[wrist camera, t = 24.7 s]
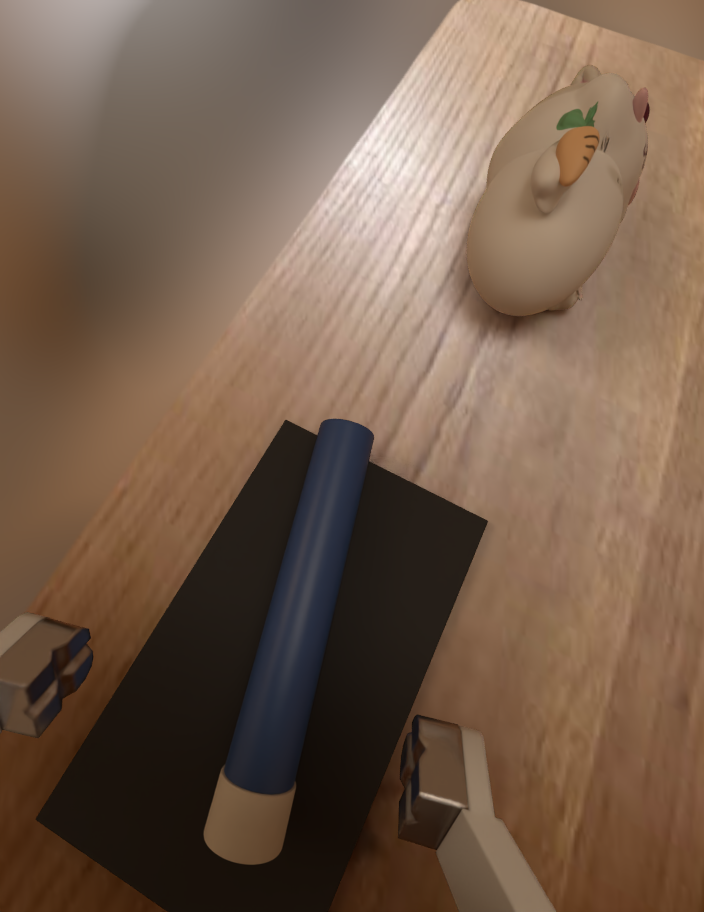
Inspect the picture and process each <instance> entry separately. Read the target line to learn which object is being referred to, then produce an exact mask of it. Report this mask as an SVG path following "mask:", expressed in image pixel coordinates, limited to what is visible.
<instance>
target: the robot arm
mask: <svg viewBox="0 0 704 912" xmlns="http://www.w3.org/2000/svg"><path fill="white" fill-rule="evenodd" d="M90 638H91V637H90V632H89V629H88V628H84V627H80V626H76V625H73V624H69V623H65V622H62V621H58V620H54V619H51V618H48V617H44V616H40V615H36V614H32V613H29V612H26V613H24V614H22V615H20V616H18V617H17V618H16V619H14V620H13V621H12V622H11V623H10V624H9V625H8V626H7V627H5V628H4V629H3V630H2V631H1V632H0V733H1V732H2V730H6V731H10V732H14V733H18V734H22V735H26V736H30V737H35V738H39V737H40V736H41V734H42V733H43V732H44V731H45V729H46V728H47V727H48V726H49V724H50V723H51V722H52V721H53V719H54V718H55V717H56V716H57V714H58V713H59V712H60V711H61V709H62V700H63V698H65V697H66V696H68V695H70V694H72V693H74V692H75V691H77V689H78V688H79V687H80V685H81V684H82V683H83V681H84V680H85V679H86V677H87V675H88V673H89V671H90V669H91V667H92V662H93V651H92V649H91V648H90V647H89V646H88V645H87V644H86V643H87V642H88V641H89V640H90ZM400 780H401V782H402V784H403V786H404V788H405V790H404V792H403V794H402V796H401V799H400V801H399V825H398V838H399V839H402V840H405V841H409V842H412V843H415V844H418V845H422V846H425V847H428V848H431V849H434V850H437V851H436V855H437V857H438V860H439V862H440V865H441V867H442V870H443V872H444V875H445V877H446V880H447V883H448V885H449V888H450V890H451V893H452V895H453V898H454V900H455V903H456V905H457V908H458V911H459V912H556V910H555V909H554V907H553V905H552V903H551V902H550V900H549V898H548V897H547V895H546V893H545V892H544V890H543V888H542V887H541V885H540V883H539V881H538V880H537V878H536V876H535V875H534V873H533V871H532V870H531V868H530V866H529V865H528V863H527V861H526V859H525V858H524V856H523V854H522V853H521V851H520V849H519V848H518V846H517V844H516V843H515V841H514V839H513V837H512V836H511V834H510V832H509V831H508V829H507V827H506V826H505V824H504V822H503V821H502V819H499V818H496V817H495V813H494V807H493V800H492V793H491V786H490V779H489V772H488V765H487V759H486V752H485V745H484V738H483V736H482V734H481V732H480V731H479V730H476V729H472V728H468V727H464V726H459V725H458V724H454V723H450V722H446V721H441V720H437V719H433V718H429V717H425V716H421V715H416V716H415V717H414V719H413V722H412V732H411V733H408V734H407V736H406V739H405V741H404V745H403V750H402V755H401V765H400Z"/></svg>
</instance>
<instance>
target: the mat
mask: <svg viewBox="0 0 704 912" xmlns="http://www.w3.org/2000/svg"><path fill="white" fill-rule="evenodd" d="M316 439H317V435H315V434H313V433H311V432H309V431H307V430H305V429H303V428H301V427H299V426H297V425H295V424H293V423H291V422H289V421H287V420H285V422H284V423H283V425H282V426H281V428H280V430H279V431H278V433H277V434H276V436H275V438H274V439H273V441H272V442H271V444H270V446H269V447H268V449H267V450H266V452H265V453H264V455H263V457H262V458H261V460H260V461H259V463H258V465H257V466H256V468H255V469H254V471H253V473H252V474H251V476H250V477H249V479H248V481H247V482H246V484H245V485H244V487H243V489H242V490H241V492H240V493H239V495H238V497H237V498H236V500H235V501H234V503H233V505H232V506H231V508H230V509H229V511H228V513H227V514H226V516H225V517H224V519H223V521H222V522H221V524H220V525H219V527H218V529H217V530H216V532H215V533H214V535H213V537H212V538H211V540H210V541H209V543H208V545H207V546H206V548H205V549H204V551H203V552H202V554H201V556H200V557H199V559H198V560H197V562H196V564H195V565H194V567H193V568H192V570H191V572H190V573H189V575H188V576H187V578H186V580H185V581H184V583H183V584H182V586H181V588H180V589H179V591H178V592H177V594H176V596H175V597H174V599H173V600H172V602H171V604H170V605H169V607H168V608H167V610H166V612H165V613H164V615H163V616H162V618H161V620H160V621H159V623H158V624H157V626H156V628H155V629H154V631H153V632H152V634H151V636H150V637H149V639H148V640H147V642H146V644H145V645H144V647H143V648H142V650H141V651H140V653H139V655H138V656H137V658H136V659H135V661H134V663H133V664H132V666H131V667H130V669H129V671H128V672H127V674H126V675H125V677H124V679H123V680H122V682H121V683H120V685H119V687H118V688H117V690H116V691H115V693H114V695H113V696H112V698H111V699H110V701H109V703H108V704H107V706H106V707H105V709H104V711H103V712H102V714H101V715H100V717H99V719H98V720H97V722H96V723H95V725H94V727H93V728H92V730H91V731H90V733H89V735H88V736H87V738H86V739H85V741H84V743H83V744H82V746H81V747H80V749H79V751H78V752H77V754H76V755H75V757H74V758H73V760H72V762H71V763H70V765H69V766H68V768H67V770H66V771H65V773H64V774H63V776H62V778H61V779H60V781H59V782H58V784H57V786H56V787H55V789H54V790H53V792H52V794H51V795H50V797H49V798H48V800H47V802H46V803H45V805H44V806H43V808H42V810H41V811H40V813H39V814H38V816H37V818H36V820H37V821H38V822H40V823H41V824H43V825H44V826H45V827H47V828H48V829H50V830H51V831H53V832H54V833H55V834H57V835H58V836H60V837H61V838H63V839H64V840H66V841H67V842H68V843H70V844H71V845H73V846H74V847H76V848H77V849H78V850H80V851H81V852H83V853H84V854H86V855H87V856H89V857H90V858H91V859H93V860H94V861H96V862H97V863H99V864H100V865H101V866H103V867H104V868H106V869H107V870H109V871H110V872H112V873H113V874H114V875H116V876H117V877H119V878H120V879H122V880H123V881H124V882H126V883H127V884H129V885H130V886H132V887H133V888H135V889H136V890H137V891H139V892H140V893H142V894H143V895H145V896H146V897H147V898H149V899H150V900H152V901H153V902H155V903H156V904H157V905H159V906H160V907H162V908H163V909H165V910H166V911H168V912H328V910H329V908H330V905H331V903H332V901H333V898H334V896H335V893H336V891H337V888H338V886H339V883H340V881H341V879H342V876H343V874H344V871H345V869H346V866H347V864H348V862H349V859H350V857H351V854H352V852H353V849H354V847H355V844H356V842H357V840H358V837H359V835H360V832H361V830H362V827H363V825H364V823H365V820H366V818H367V815H368V813H369V810H370V808H371V805H372V803H373V801H374V798H375V796H376V793H377V791H378V788H379V786H380V784H381V781H382V779H383V776H384V774H385V771H386V769H387V766H388V764H389V762H390V759H391V757H392V754H393V752H394V749H395V747H396V744H397V742H398V740H399V737H400V735H401V732H402V730H403V727H404V725H405V723H406V720H407V718H408V715H409V713H410V710H411V708H412V705H413V703H414V701H415V698H416V696H417V693H418V691H419V688H420V686H421V684H422V681H423V679H424V676H425V674H426V671H427V669H428V666H429V664H430V662H431V659H432V657H433V654H434V652H435V649H436V647H437V644H438V642H439V640H440V637H441V635H442V632H443V630H444V627H445V625H446V623H447V620H448V618H449V615H450V613H451V610H452V608H453V605H454V603H455V601H456V598H457V596H458V593H459V591H460V588H461V586H462V584H463V581H464V579H465V576H466V574H467V571H468V569H469V566H470V564H471V562H472V559H473V557H474V554H475V552H476V549H477V547H478V545H479V542H480V540H481V537H482V535H483V532H484V530H485V527H486V525H487V523H488V521H487V520H485V519H483V518H481V517H479V516H477V515H475V514H473V513H471V512H469V511H467V510H465V509H463V508H461V507H459V506H457V505H455V504H453V503H451V502H449V501H447V500H445V499H443V498H441V497H439V496H437V495H435V494H433V493H431V492H429V491H427V490H425V489H423V488H421V487H419V486H417V485H415V484H413V483H411V482H409V481H407V480H405V479H403V478H401V477H399V476H397V475H395V474H393V473H391V472H389V471H387V470H385V469H383V468H381V467H379V466H377V465H375V464H373V463H371V462H368V466H367V470H366V475H365V479H364V483H363V488H362V492H361V497H360V501H359V505H358V510H357V514H356V518H355V523H354V527H353V531H352V536H351V540H350V544H349V549H348V553H347V557H346V562H345V566H344V570H343V575H342V579H341V583H340V588H339V592H338V596H337V601H336V605H335V609H334V614H333V618H332V622H331V627H330V631H329V635H328V640H327V644H326V648H325V653H324V657H323V661H322V666H321V670H320V674H319V679H318V683H317V687H316V692H315V696H314V700H313V705H312V709H311V713H310V718H309V722H308V726H307V731H306V735H305V739H304V744H303V748H302V752H301V757H300V761H299V765H298V770H297V774H296V778H295V782H296V790H295V794H294V799H293V803H292V807H291V812H290V816H289V821H288V825H287V829H286V834H285V838H284V842H283V847H282V850H281V852H280V853H279V855H278V856H277V857H276V858H274V859H273V860H271V861H269V862H266V863H262V864H255V865H248V864H240V863H235V862H232V861H229V860H226V859H224V858H222V857H220V856H219V855H217V854H216V853H214V852H213V851H212V850H211V849H210V848H209V847H208V846H207V844H206V842H205V840H204V829H205V825H206V822H207V818H208V814H209V811H210V807H211V804H212V800H213V797H214V793H215V790H216V786H217V783H218V779H219V775H220V772H221V769H222V767H223V766H224V765H225V764H226V760H227V757H228V753H229V749H230V746H231V742H232V739H233V735H234V732H235V728H236V724H237V721H238V717H239V714H240V710H241V707H242V703H243V699H244V696H245V692H246V689H247V685H248V682H249V678H250V674H251V671H252V667H253V664H254V660H255V657H256V653H257V649H258V646H259V642H260V639H261V635H262V632H263V628H264V624H265V621H266V617H267V614H268V610H269V607H270V603H271V600H272V596H273V592H274V589H275V585H276V582H277V578H278V575H279V571H280V567H281V564H282V560H283V557H284V553H285V550H286V546H287V542H288V539H289V535H290V532H291V528H292V525H293V521H294V517H295V514H296V510H297V507H298V503H299V500H300V496H301V492H302V489H303V485H304V482H305V478H306V475H307V471H308V467H309V464H310V460H311V457H312V453H313V450H314V446H315V442H316Z"/></svg>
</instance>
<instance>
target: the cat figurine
mask: <svg viewBox="0 0 704 912" xmlns="http://www.w3.org/2000/svg"><path fill="white" fill-rule="evenodd" d="M648 116H649V104H648V90H647V89H646V88H642V89H640V90H639V91H638V92H637V94H636V96H634V95H633V93H632V92H631V91H630V88H629V86H628V84H627V83H626V81H625V80H624V79H623V78H622V77H621V76H620V75H618V74H615V73H606V74H602V75H601V73H600V71H599V70H598V68H596V67H595V66H593V65H587V66H585V67H583V68H582V69H581V70H580V71H579V72H578V74H577V75H576V77H575V78H574V80H573V81H572V83H571V85H570V86H568V87H565V88H563V89H560V90H558V91H556V92H555V93H553V94H551V95H550V96H548V97H546V98H545V99H544V100H542V101H541V102H539V103H538V104H537V105H536V106H534V107H533V108H532V109H531V110H530V111H528V112H527V113H526V114H525V115H524V116H523V117H522V118H521V119H520V120H519V121H518V122H517V123H516V124H515V125H514V126H513V127H512V128H511V129H510V130H509V131H508V132H507V133H506V134H505V136H504V137H503V138H502V139H501V141H500V142H499V144H498V145H497V147H496V149H495V151H494V153H493V155H492V158H491V161H490V165H489V169H488V174H487V182H486V190H485V192H484V194H483V195H482V197H481V199H480V201H479V203H478V205H477V207H476V209H475V212H474V214H473V217H472V220H471V223H470V227H469V232H468V237H467V264H468V270H469V274H470V277H471V280H472V282H473V284H474V287H475V288H476V290H477V292H478V293H479V295H480V296H481V298H482V299H483V300H484V301H485V302H486V303H487V304H488V305H489V306H491V307H492V308H494V309H495V310H497V311H499V312H501V313H504V314H507V315H512V316H527V315H533V314H536V313H539V312H542V311H545V310H547V309H548V310H566V309H569V308H571V307H572V306H573V305H574V304H575V303H576V301H577V300H578V299H579V300H580V299H581V300H582V298H583V295H582V285H583V284H584V283H585V281H586V280H587V279H588V278H589V277H590V276H591V275H592V274H593V272H594V271H595V270H596V268H597V267H598V266H599V264H600V263H601V261H602V260H603V258H604V257H605V255H606V253H607V252H608V250H609V248H610V246H611V244H612V242H613V240H614V238H615V235H616V233H617V230H618V227H619V224H620V223H621V221H622V220H623V218H624V216H625V213H626V210H627V207H628V205H629V204H630V203H631V202H632V200H633V199H634V197H635V195H636V192H637V189H638V186H639V178H640V176H641V173H642V171H643V168H644V164H645V161H646V156H647V148H648V135H647V128H646V124H645V123H646V121H647V119H648Z"/></svg>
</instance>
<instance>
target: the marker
mask: <svg viewBox="0 0 704 912" xmlns="http://www.w3.org/2000/svg"><path fill="white" fill-rule="evenodd" d="M373 440H374V435H373V433H372V432H371V431H370V430H369V429H368V428H366V427H364V426H362V425H360V424H358V423H355V422H352V421H348V420H343V419H328V420H325V421H323V422H322V423H321V425H320V428H319V432H318V435H317V439H316V442H315V446H314V450H313V453H312V457H311V460H310V464H309V467H308V471H307V475H306V478H305V482H304V485H303V489H302V492H301V496H300V500H299V503H298V507H297V510H296V514H295V517H294V521H293V525H292V528H291V532H290V535H289V539H288V542H287V546H286V550H285V553H284V557H283V560H282V564H281V567H280V571H279V575H278V578H277V582H276V585H275V589H274V592H273V596H272V600H271V603H270V607H269V610H268V614H267V617H266V621H265V624H264V628H263V632H262V635H261V639H260V642H259V646H258V649H257V653H256V657H255V660H254V664H253V667H252V671H251V674H250V678H249V682H248V685H247V689H246V692H245V696H244V699H243V703H242V707H241V710H240V714H239V717H238V721H237V724H236V728H235V732H234V735H233V739H232V742H231V746H230V749H229V753H228V757H227V760H226V764H225V765H224V766H223V767H222V769H221V772H220V775H219V779H218V783H217V786H216V790H215V793H214V797H213V800H212V804H211V807H210V811H209V814H208V818H207V822H206V825H205V829H204V840H205V842H206V844H207V846H208V847H209V848H210V849H211V850H212V851H213V852H214V853H216V854H217V855H219V856H220V857H222V858H224V859H226V860H229V861H232V862H235V863H240V864H248V865H255V864H262V863H266V862H269V861H271V860H273V859H274V858H276V857H277V856H278V855H279V853H280V852H281V850H282V847H283V842H284V838H285V834H286V829H287V825H288V821H289V816H290V812H291V807H292V803H293V799H294V794H295V790H296V782H295V778H296V774H297V770H298V765H299V761H300V757H301V752H302V748H303V744H304V739H305V735H306V731H307V726H308V722H309V718H310V713H311V709H312V705H313V700H314V696H315V692H316V687H317V683H318V679H319V674H320V670H321V666H322V661H323V657H324V653H325V648H326V644H327V640H328V635H329V631H330V627H331V622H332V618H333V614H334V609H335V605H336V601H337V596H338V592H339V588H340V583H341V579H342V575H343V570H344V566H345V562H346V557H347V553H348V549H349V544H350V540H351V536H352V531H353V527H354V523H355V518H356V514H357V510H358V505H359V501H360V497H361V492H362V488H363V483H364V479H365V475H366V470H367V466H368V462H369V457H370V453H371V449H372V444H373Z"/></svg>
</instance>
